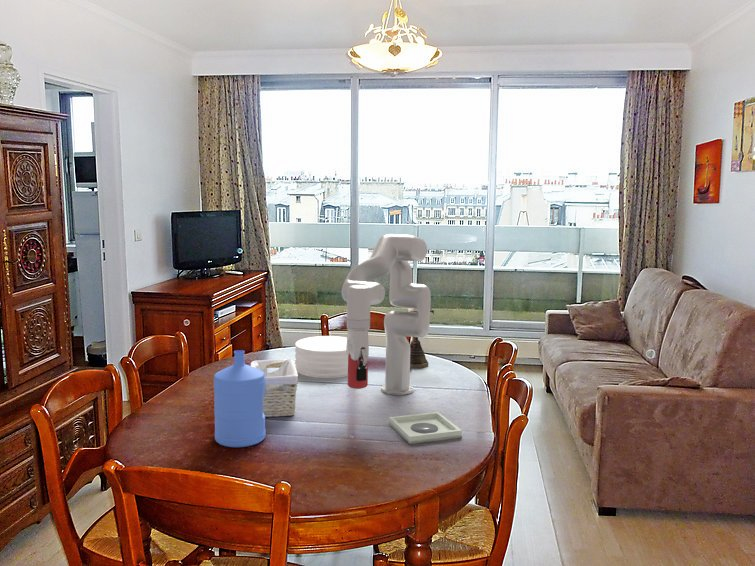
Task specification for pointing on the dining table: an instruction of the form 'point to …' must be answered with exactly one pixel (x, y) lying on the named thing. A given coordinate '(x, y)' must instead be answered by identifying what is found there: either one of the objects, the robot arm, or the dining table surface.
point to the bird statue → (417, 350)
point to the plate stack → (322, 356)
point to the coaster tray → (425, 427)
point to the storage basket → (278, 386)
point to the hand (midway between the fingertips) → (357, 376)
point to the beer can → (352, 374)
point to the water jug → (239, 404)
